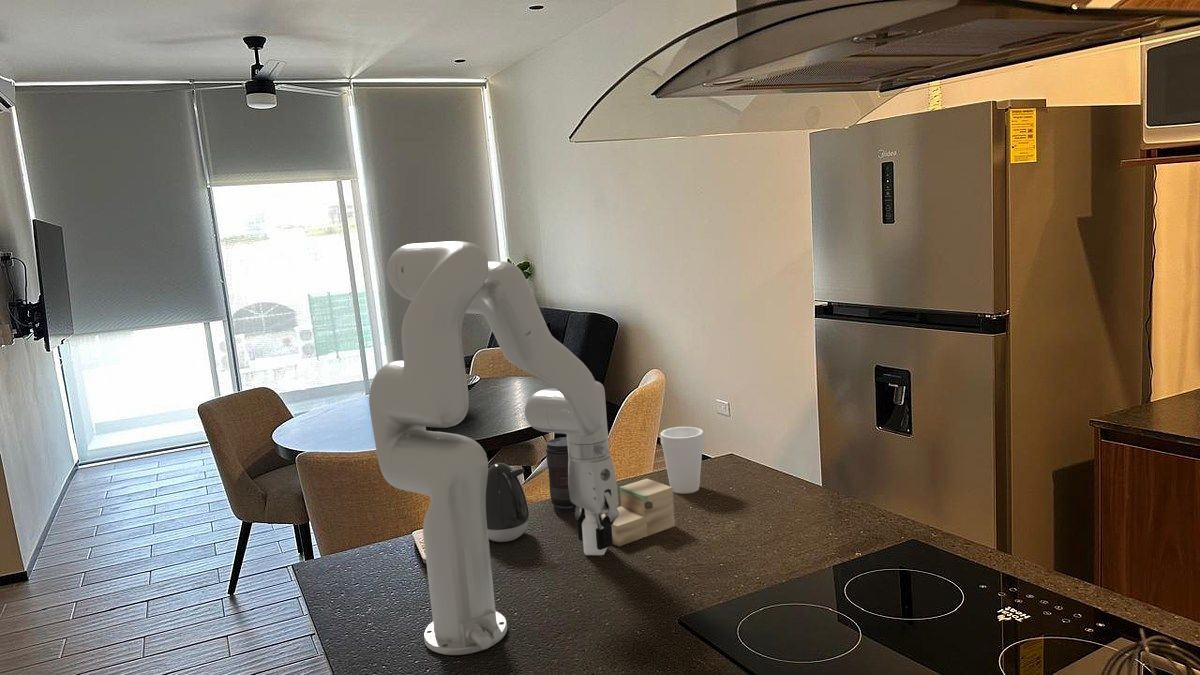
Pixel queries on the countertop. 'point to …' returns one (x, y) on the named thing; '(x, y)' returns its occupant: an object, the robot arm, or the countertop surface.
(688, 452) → the foam cup
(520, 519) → the pump dispenser
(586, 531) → the salt shaker
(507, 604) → the countertop surface
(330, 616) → the countertop surface
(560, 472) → the camera lens
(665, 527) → the wooden step block
